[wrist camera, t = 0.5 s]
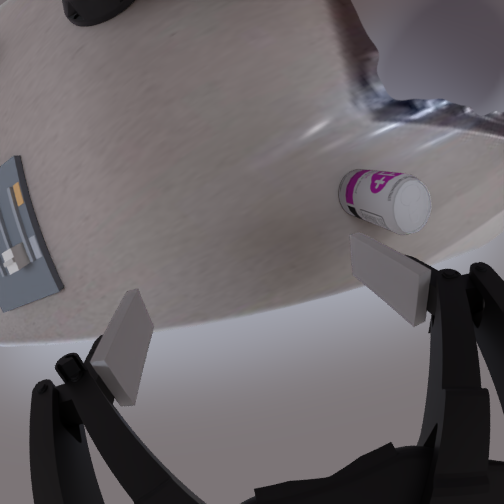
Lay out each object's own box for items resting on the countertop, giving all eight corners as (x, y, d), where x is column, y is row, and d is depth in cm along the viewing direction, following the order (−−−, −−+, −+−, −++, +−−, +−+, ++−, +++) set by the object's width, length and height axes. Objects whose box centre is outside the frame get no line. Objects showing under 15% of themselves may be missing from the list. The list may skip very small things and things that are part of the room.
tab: (13, 246, 34) (-1, 254, 30) (22, 241, 34) (8, 249, 30) (21, 266, 36) (8, 276, 31) (30, 262, 36) (17, 271, 31)
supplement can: (330, 178, 42) (383, 186, 28) (369, 163, 42) (427, 167, 28) (344, 222, 45) (396, 248, 31) (381, 205, 45) (437, 223, 31)
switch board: (-32, 199, 31) (-40, 201, 28) (20, 155, 32) (10, 155, 29) (7, 308, 39) (1, 314, 36) (64, 287, 40) (56, 294, 38)
